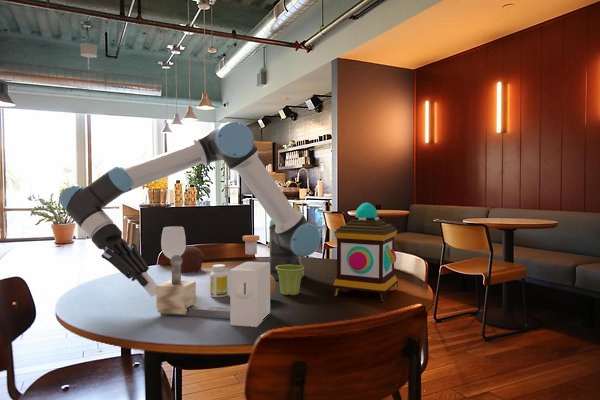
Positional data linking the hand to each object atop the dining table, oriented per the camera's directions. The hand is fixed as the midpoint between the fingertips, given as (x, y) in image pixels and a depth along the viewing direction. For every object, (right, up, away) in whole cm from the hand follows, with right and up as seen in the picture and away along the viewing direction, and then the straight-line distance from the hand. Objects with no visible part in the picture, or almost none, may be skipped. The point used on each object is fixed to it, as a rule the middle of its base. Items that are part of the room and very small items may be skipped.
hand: (156, 292), depth 114 cm
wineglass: (-4, -5, +29) cm, 29 cm away
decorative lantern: (+62, -5, +22) cm, 66 cm away
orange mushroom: (+27, +11, -5) cm, 30 cm away
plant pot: (+37, -5, +22) cm, 43 cm away
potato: (+26, -6, +12) cm, 29 cm away
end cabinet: (+27, -6, -5) cm, 28 cm away
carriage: (+6, -5, -1) cm, 8 cm away
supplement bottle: (+14, -5, +18) cm, 23 cm away
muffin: (-6, -4, +59) cm, 59 cm away
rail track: (+13, -6, -2) cm, 14 cm away
